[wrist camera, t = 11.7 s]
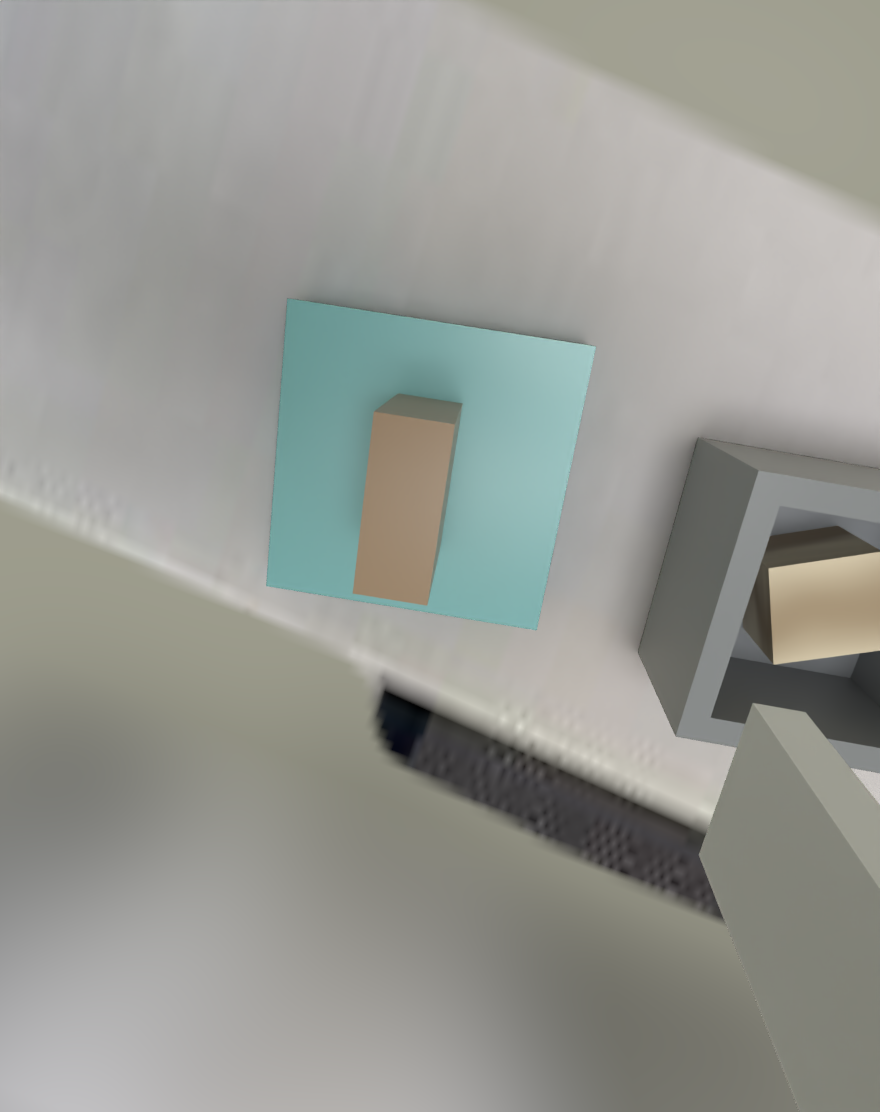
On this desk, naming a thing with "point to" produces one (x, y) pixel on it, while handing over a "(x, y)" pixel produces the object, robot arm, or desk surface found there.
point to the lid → (422, 461)
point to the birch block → (815, 596)
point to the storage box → (724, 591)
